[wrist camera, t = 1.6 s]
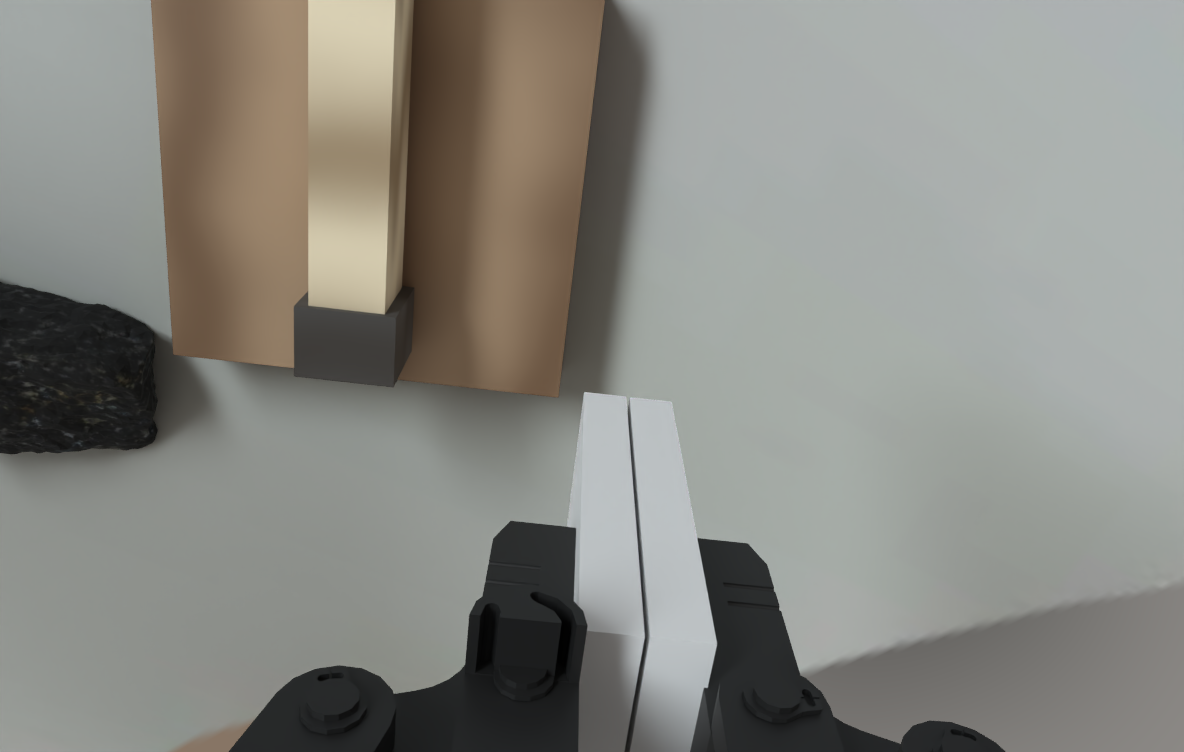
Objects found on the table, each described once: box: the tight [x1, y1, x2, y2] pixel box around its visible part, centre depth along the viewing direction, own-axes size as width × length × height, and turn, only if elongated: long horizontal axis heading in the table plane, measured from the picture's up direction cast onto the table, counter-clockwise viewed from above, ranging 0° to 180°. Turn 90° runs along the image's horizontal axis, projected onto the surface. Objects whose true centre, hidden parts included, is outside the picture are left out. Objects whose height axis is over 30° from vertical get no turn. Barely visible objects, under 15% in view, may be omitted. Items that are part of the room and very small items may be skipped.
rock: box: [0, 282, 158, 454], centre depth 33 cm, size 7×10×6 cm
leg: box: [294, 0, 415, 387], centre depth 28 cm, size 15×3×3 cm, turn 173°
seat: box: [151, 0, 605, 397], centre depth 28 cm, size 14×20×7 cm
